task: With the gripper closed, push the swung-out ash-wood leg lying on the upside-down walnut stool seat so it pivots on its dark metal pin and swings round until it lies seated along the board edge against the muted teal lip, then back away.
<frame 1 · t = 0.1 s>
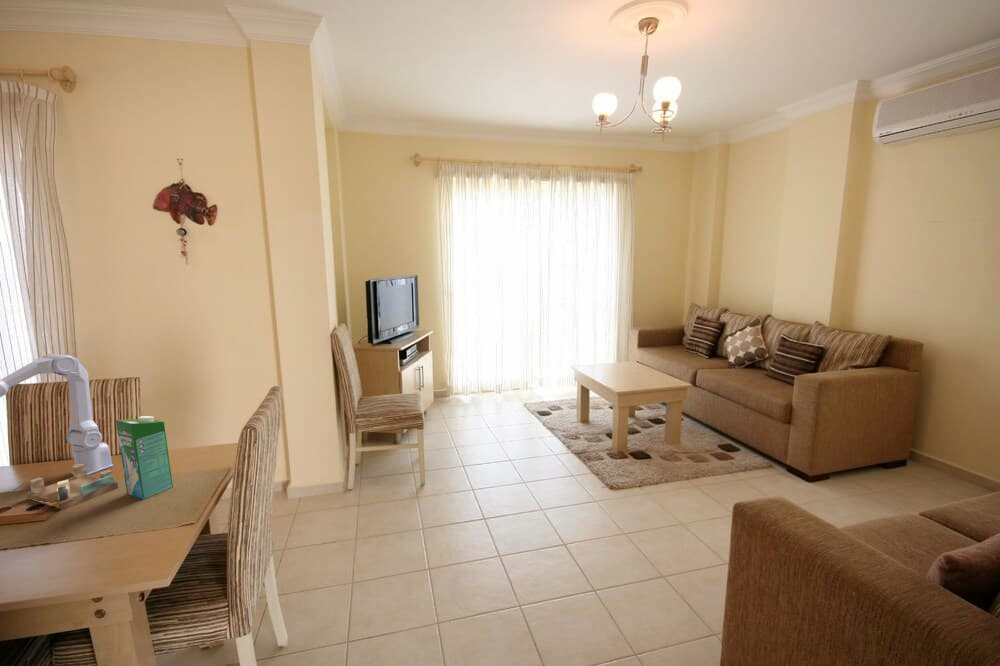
stool seat: (74, 493, 150), on the table
stool leg: (63, 488, 145), point 4 cm above the table, hinge at 65.0°
milk carton: (150, 491, 150), on the table
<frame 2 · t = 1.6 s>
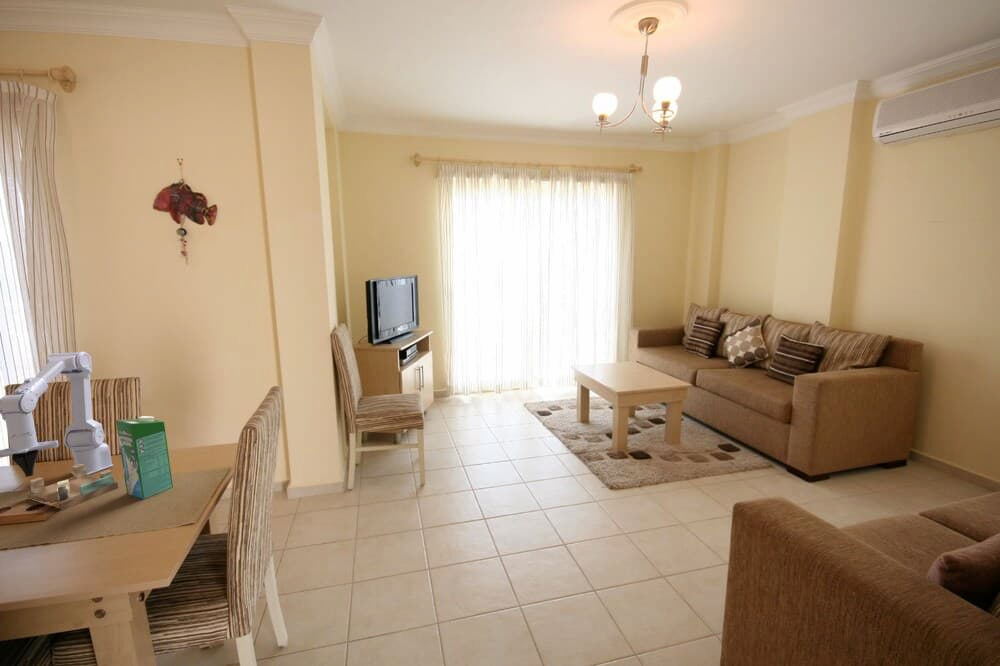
hand: (29, 475, 141), 10 cm above the table, fingers closed
nothing on the table moved.
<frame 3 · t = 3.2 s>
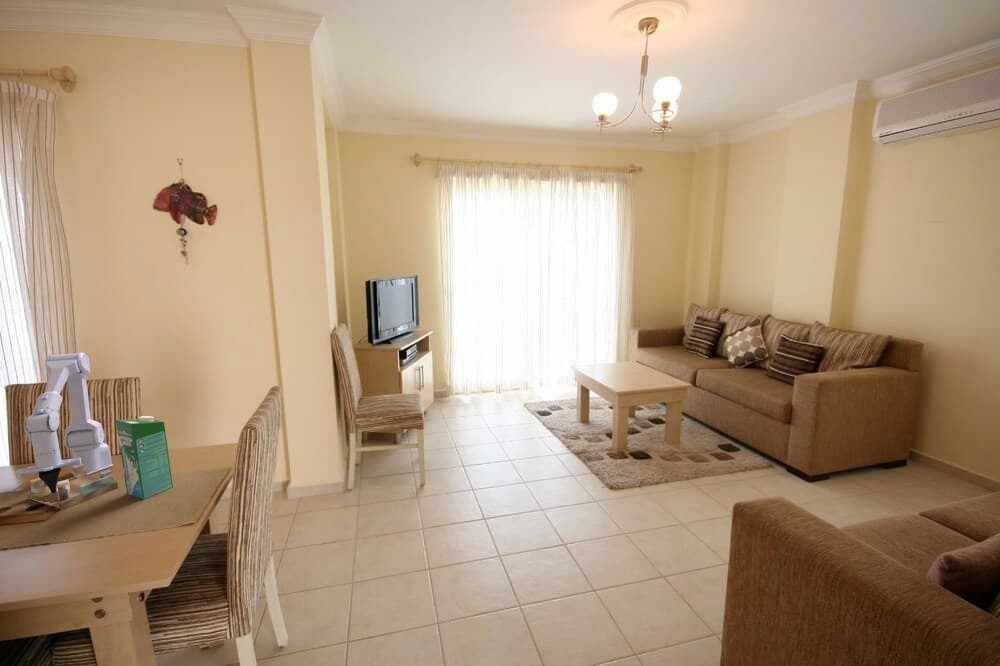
hand: (54, 491, 145), 3 cm above the table, fingers closed, pressing on stool leg
stool leg: (63, 488, 145), point 4 cm above the table, hinge at 64.5°, touching gripper
everything else where it was.
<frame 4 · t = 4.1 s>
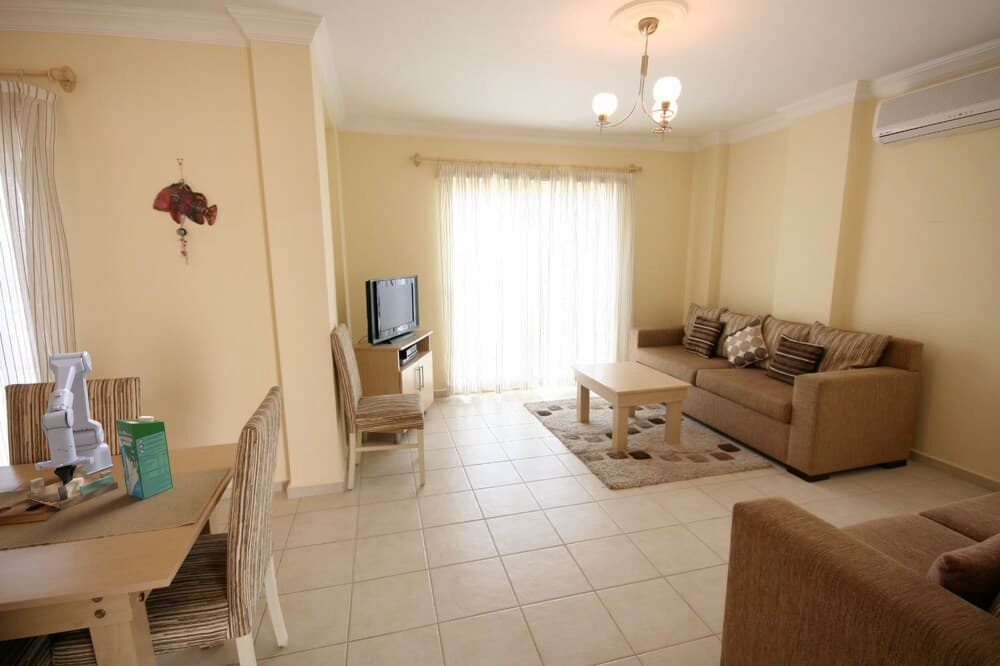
hand: (69, 487, 147), 3 cm above the table, fingers closed, pressing on stool leg
stool leg: (70, 487, 145), point 4 cm above the table, hinge at 40.2°, touching gripper
everything else where it was.
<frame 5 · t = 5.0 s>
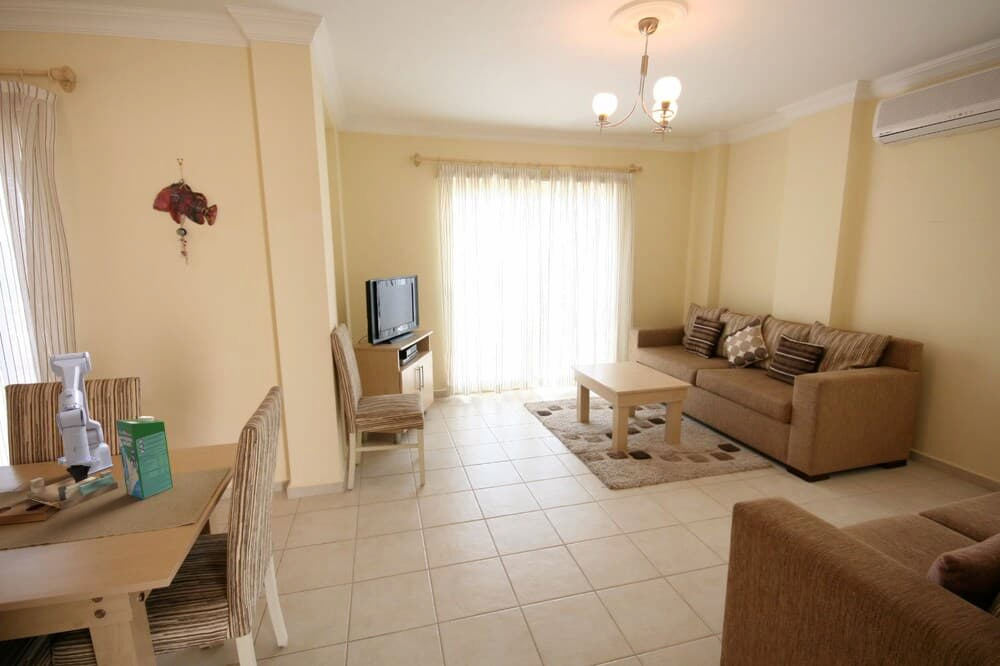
hand: (82, 486, 148), 3 cm above the table, fingers closed, pressing on stool leg
stool leg: (77, 486, 145), point 4 cm above the table, hinge at 8.6°, touching gripper
everything else where it was.
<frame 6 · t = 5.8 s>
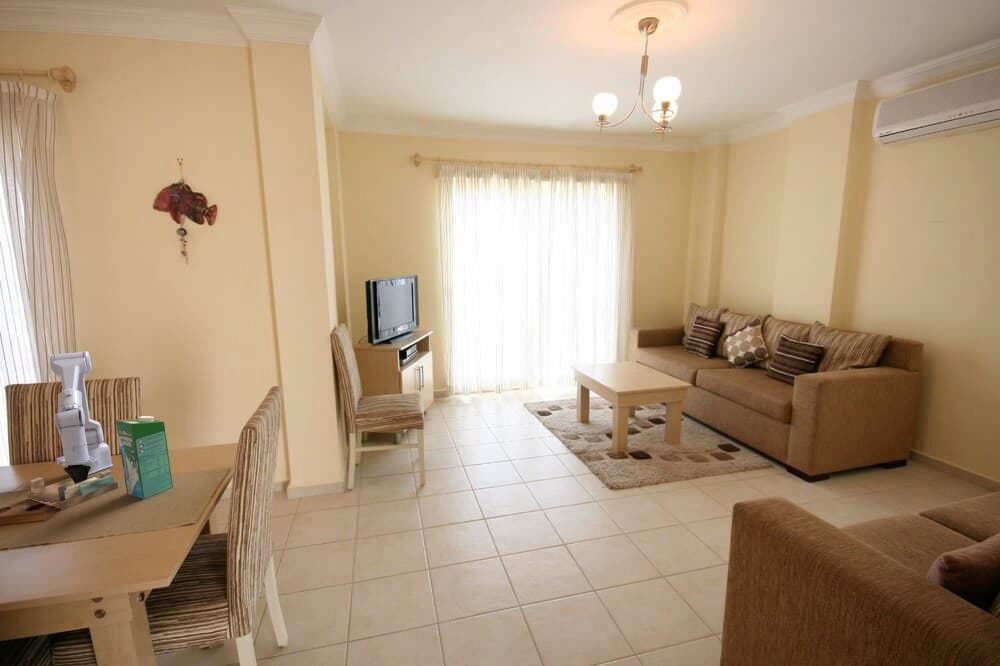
hand: (81, 485, 149), 3 cm above the table, fingers closed
stool leg: (78, 487, 145), point 4 cm above the table, hinge at 0.3°
everything else where it was.
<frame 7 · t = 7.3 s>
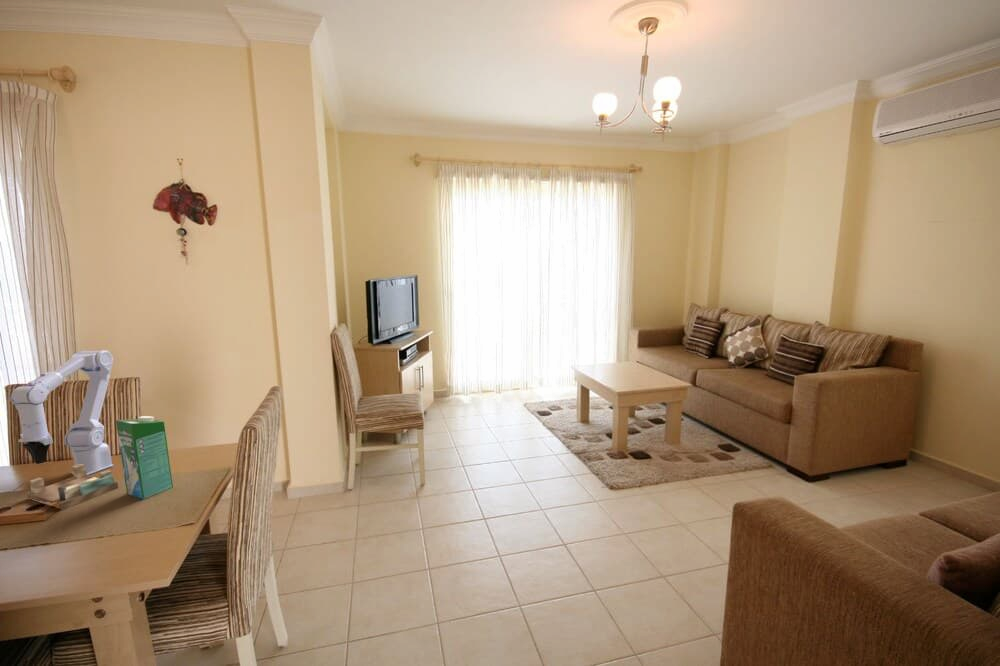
hand: (40, 462, 149), 10 cm above the table, fingers closed
nothing on the table moved.
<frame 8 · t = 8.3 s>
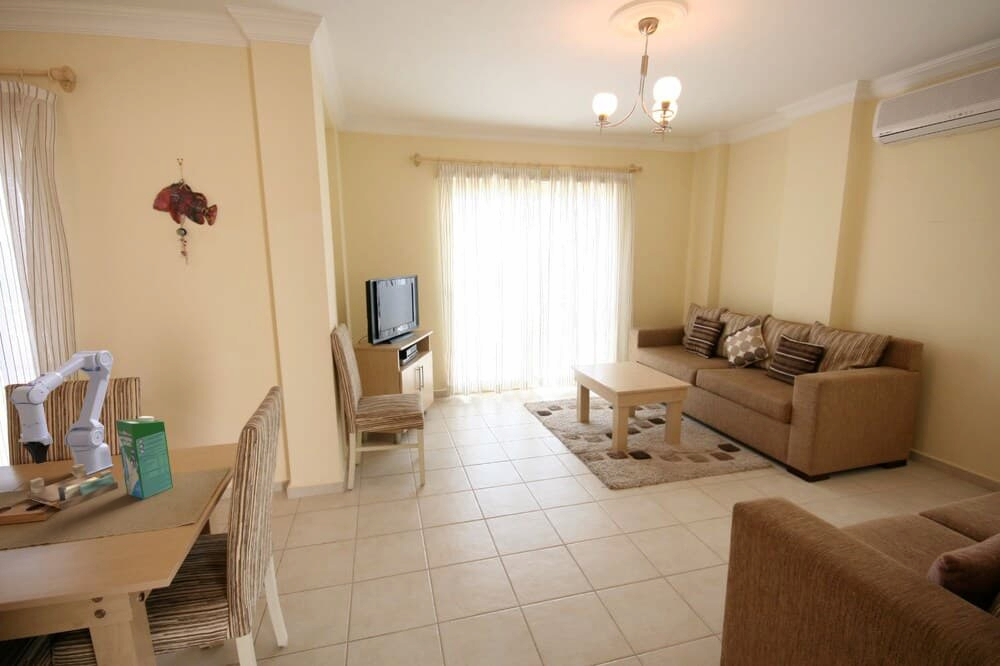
hand: (40, 462, 149), 10 cm above the table, fingers closed
nothing on the table moved.
at the end: stool leg at +0° (first picture: +65°); stool leg touching nothing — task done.
